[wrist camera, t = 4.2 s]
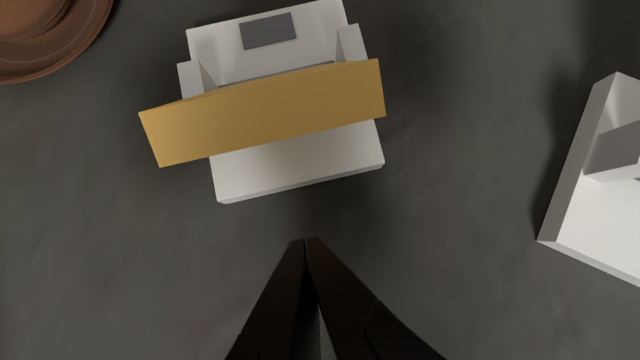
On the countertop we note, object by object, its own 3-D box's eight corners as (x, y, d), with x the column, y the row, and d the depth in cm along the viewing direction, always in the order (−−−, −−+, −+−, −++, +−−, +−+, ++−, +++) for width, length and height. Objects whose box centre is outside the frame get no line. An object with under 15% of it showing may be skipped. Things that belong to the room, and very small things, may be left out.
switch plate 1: (380, 168, 19) (396, 148, 15) (226, 204, 19) (195, 195, 15) (339, 13, 21) (342, -48, 16) (196, 45, 21) (159, -8, 16)
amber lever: (336, 86, 18) (409, 115, 7) (229, 111, 18) (138, 177, 7) (331, 60, 18) (401, 48, 7) (221, 85, 18) (111, 112, 7)
